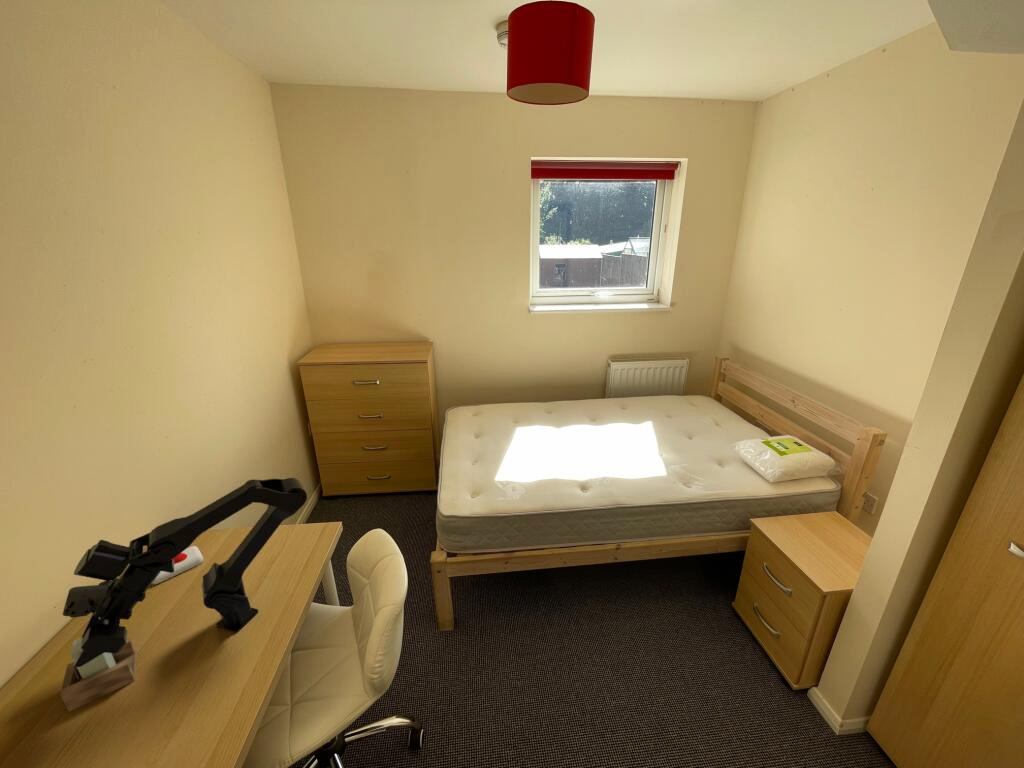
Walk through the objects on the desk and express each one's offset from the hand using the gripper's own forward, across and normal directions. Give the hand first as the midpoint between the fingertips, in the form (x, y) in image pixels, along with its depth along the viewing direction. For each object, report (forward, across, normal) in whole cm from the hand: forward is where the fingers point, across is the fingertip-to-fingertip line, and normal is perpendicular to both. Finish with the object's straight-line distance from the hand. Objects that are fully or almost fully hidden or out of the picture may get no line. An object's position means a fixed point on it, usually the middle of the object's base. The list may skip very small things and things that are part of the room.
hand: (80, 652), depth 86 cm
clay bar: (+5, 0, +7) cm, 8 cm away
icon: (-3, -33, +17) cm, 37 cm away
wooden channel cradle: (+6, 0, +8) cm, 9 cm away
